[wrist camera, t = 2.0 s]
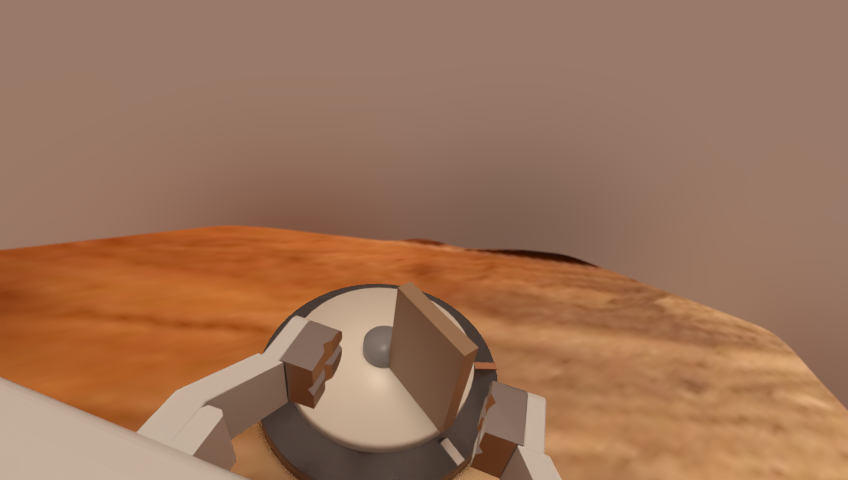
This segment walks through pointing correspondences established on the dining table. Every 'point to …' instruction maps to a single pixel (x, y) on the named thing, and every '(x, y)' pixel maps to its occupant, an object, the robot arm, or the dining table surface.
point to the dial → (392, 370)
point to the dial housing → (381, 472)
